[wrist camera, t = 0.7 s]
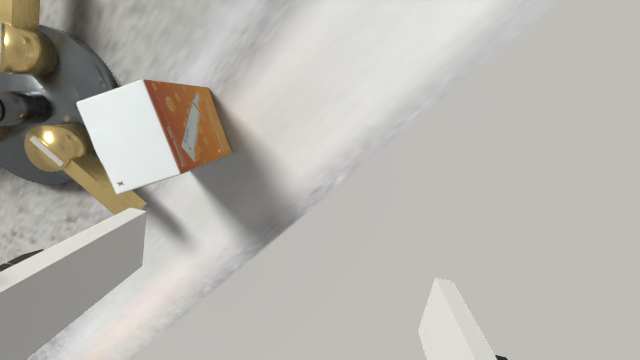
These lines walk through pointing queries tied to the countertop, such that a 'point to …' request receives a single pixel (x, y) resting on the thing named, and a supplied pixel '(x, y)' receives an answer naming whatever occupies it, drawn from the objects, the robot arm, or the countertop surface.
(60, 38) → the tribrach plate
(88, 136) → the knob
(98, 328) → the countertop surface
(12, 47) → the knob
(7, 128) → the knob
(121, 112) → the small box
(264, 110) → the countertop surface
